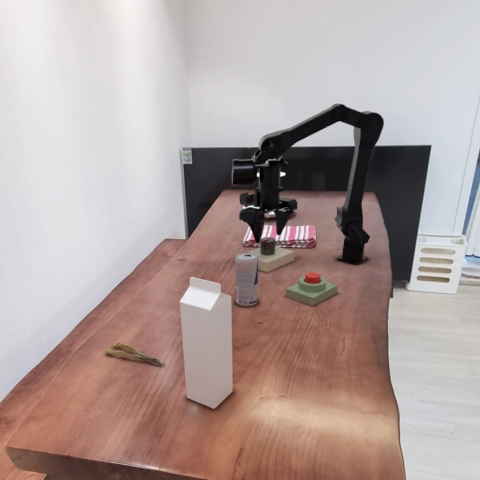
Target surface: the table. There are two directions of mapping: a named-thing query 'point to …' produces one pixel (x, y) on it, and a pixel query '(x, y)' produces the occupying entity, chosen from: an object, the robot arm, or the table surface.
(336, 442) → the table surface
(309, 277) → the button
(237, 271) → the energy drink
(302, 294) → the button base
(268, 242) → the knob
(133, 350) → the dried herb bundle
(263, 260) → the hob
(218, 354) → the milk
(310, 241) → the dish towel
